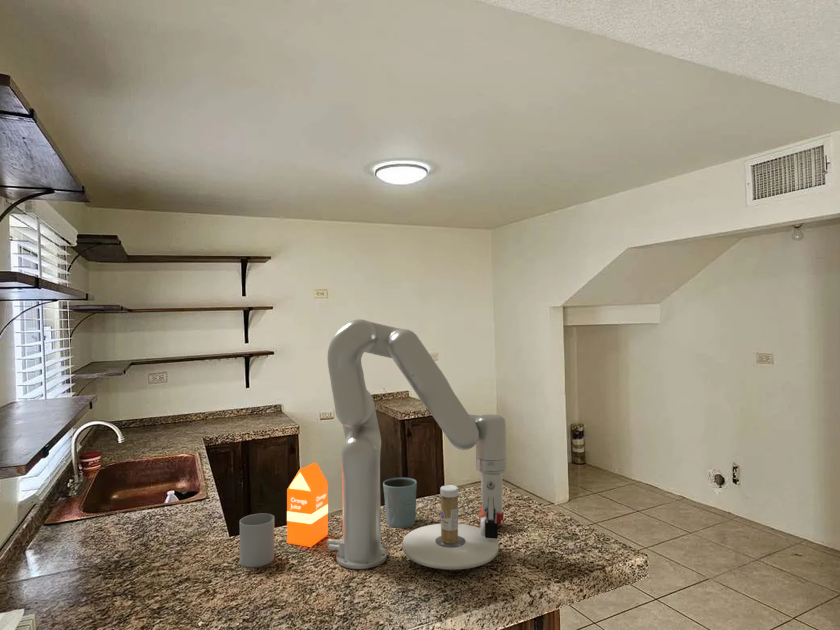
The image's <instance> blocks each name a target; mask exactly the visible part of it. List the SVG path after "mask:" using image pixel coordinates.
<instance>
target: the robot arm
mask: <svg viewBox="0 0 840 630" xmlns="http://www.w3.org/2000/svg"><path fill="white" fill-rule="evenodd" d="M365 353H367V354H372V355H374V356H375V355H376V356H380V357H385V358H389V359H392V360H393V362H394V364H396V366H397V368H398V369H399V370H400V372H401V373H402V375H403V376H404V377H405V379H406V380H407V382H408V383H409V385H410V386H411V388H412V390H414V393H415V395H417V397H418V399H419V401H421V403H422V404H423V405H424V406H425V407H426V409H427V410H428V411H429V412H430V414H431V416H432V417H433V419H434V420H435V422H436V423H437V424H438V426H439V428H440V430H442V432H443V434H445V437H446V439H448V441H449V443H450V444H451V445H452V446H453V447H454V448H456V449H458V450H461V451H468V450H471V449H472V448H474V447H475V457H476V458H475V465H476V466H475V467H476V468H475V471H477V472H478V473H480V487H481V488H480V491H481V492H480V493H481V504H482V505H481V506H482V508H483V512H484V513H485V512H486V520H485V537H486V538H494V539H497V540H498V538H499V527H498V520H497V513H500V514H502V511H503V473H505V472H507V471H506V470H507V451H506V450H507V448H506V445H507V444H506V443H507V441H506V440H507V439H506V438H507V437H506V436H507V435H506V433H507V430H506V428H507V425H506V420H505V418H504V417H503V416H501V415H498V414H481V415H479V414H478V415H477V414H470V413H468V412H467V411H468V410H467V409H466V408H465V407H464V406H463V404H462V402H461V401H460V399H459V398H458V396H457V395H456V393H455V392H454V390H453V389H452V387H451V385H450V383H449V381H448V379H447V378H446V376H445V374H444V373H443V371H442V370H441V369H440V367H439V366H438V364H437V363H436V361H435V359H433V357H432V356H431V354H430V353H429V351H428V350H427V348H426V346H425V345H424V344H423V342H422V340H420V338H419V337H418V335H417V334H416V333H415V332H413V331H412V330H410V329H405V328H400V327H394V326H389V325H384V324H380V323H376V322H373V321H369V320H366V319H359V318H357V319H354V320H350V321H349V322H348V323H345V325H343V326H342V327H341V328H340V329H338V331H337V332H336V333H335V334H334V336H333V337H332V339H331V341H330V343H329V346H328V350H327V368H328V373H329V379H330V386H331V393H332V399H333V404H334V411H335V412H334V413H335V415H336V418H337V420H338V421H339V422H340V423H341V425H342V428H343V433H344V439H345V440H344V442H343V445H342V448H341V453H340V465H341V466H340V467H341V468H340V469H341V485H342V486H341V487H342V488H341V490H342V491H341V492H342V495H341V498H342V537H340V538H339V539H336V538H328V539H327V540H326V546H327V547H328V550H329V551H337V553H336V562H337V563H338V564H339V566H342V567H344V568H346V569H352V570H367V569H372V568H375V567H377V566H380V565H381V564H383V563H385V562H386V561H387V558H388V557H387V556H388V553H387V550H386V549H385V548H384V547H383V546H382V544H381V543H382V542H381V540H382V537H381V536H382V535H381V534H382V533H381V531H382V530H381V529H382V528H381V527H382V526H381V525H382V524H381V523H382V521H381V518H382V517H381V452H382V451H381V450H382V438H381V437H382V436H381V432H380V427H379V422H378V417H377V412H376V407H375V402H374V398H373V396H372V394H371V392H370V391H368V389H367V386H366V382H365V380H366V379H365V375H364V374H365V373H364V370H363V365H362V357H363V355H364V354H365Z"/></svg>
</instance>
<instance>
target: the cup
mask: <svg viewBox="0 0 840 630" xmlns="http://www.w3.org/2000/svg"><path fill="white" fill-rule="evenodd" d="M274 560H275V515H273V514H271V513H254V514H249V515H247V516H244V517H242V518H241V519H239V565H241V566H242V567H245V568H259V567H263V566H266V565H269V564H270V563H272V562H273V561H274Z"/></svg>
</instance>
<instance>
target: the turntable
mask: <svg viewBox="0 0 840 630" xmlns="http://www.w3.org/2000/svg"><path fill="white" fill-rule="evenodd" d="M485 520H486V517H482V518H481V522H480V527H477V526H474V525H470V524H463V523H458V542H456V543H453V544H446V543H443V542H442V541H441V523H434V524H428V525H424V526H420V527H418V528H415V529H413V530H411V531H410V532H408V533H407V534H406V535H405V536H404V538H403V540H402V551H403V553H404V555H405V556H406V558H408V559H409V560H411V561H412V562H414V563H416V564H418V565H421V566H424V567H427V568H432V569H439V570H463V569H464V570H465V569H466V570H467V569H473V568H476V567H480V566H484V565H486V564H487V563H490V562H492V561H493V560H494V559H495V558H496V557H497V556H498V554H499V541H498V538H497V539H494V538H486V537H485Z"/></svg>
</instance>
